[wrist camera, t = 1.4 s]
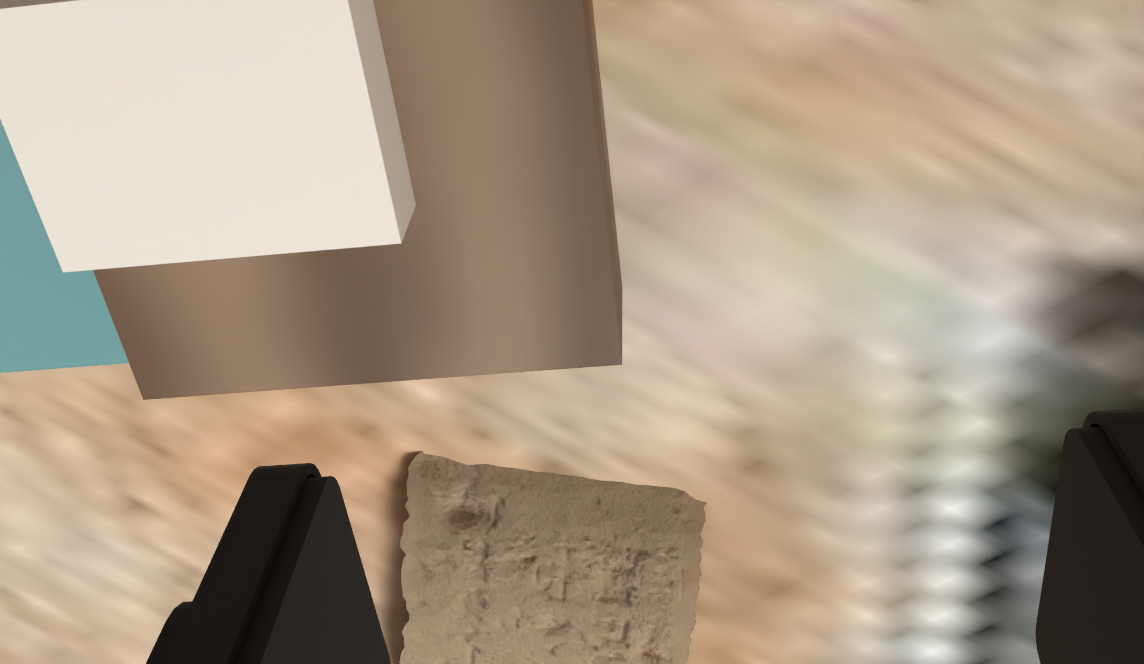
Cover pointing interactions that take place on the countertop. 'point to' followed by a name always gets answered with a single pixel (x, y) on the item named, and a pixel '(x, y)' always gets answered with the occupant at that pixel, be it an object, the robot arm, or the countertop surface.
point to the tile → (203, 127)
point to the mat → (44, 291)
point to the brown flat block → (423, 231)
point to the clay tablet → (546, 568)
